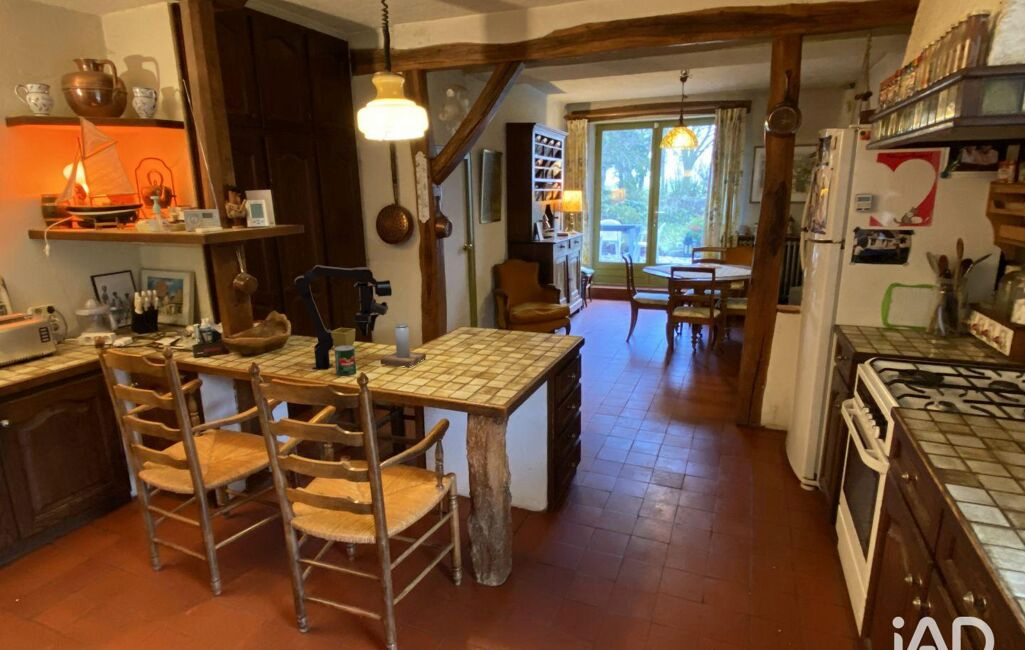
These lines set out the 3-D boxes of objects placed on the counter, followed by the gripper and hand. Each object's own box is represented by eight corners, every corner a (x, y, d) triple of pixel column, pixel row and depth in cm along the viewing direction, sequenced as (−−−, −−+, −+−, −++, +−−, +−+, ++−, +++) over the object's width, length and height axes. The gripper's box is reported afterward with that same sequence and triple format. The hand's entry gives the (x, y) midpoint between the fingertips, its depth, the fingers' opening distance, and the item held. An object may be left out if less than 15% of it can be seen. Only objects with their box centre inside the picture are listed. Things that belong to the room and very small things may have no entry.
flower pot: (346, 351, 264) (345, 333, 262) (330, 350, 266) (329, 331, 264) (357, 347, 272) (356, 328, 270) (341, 345, 275) (340, 327, 273)
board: (409, 368, 238) (409, 362, 238) (380, 364, 243) (380, 358, 243) (426, 359, 251) (425, 353, 251) (398, 356, 256) (398, 350, 256)
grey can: (404, 358, 243) (402, 327, 240) (393, 357, 246) (392, 325, 243) (412, 355, 248) (411, 324, 245) (402, 353, 250) (400, 323, 247)
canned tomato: (346, 378, 226) (344, 351, 224) (331, 375, 230) (329, 348, 227) (360, 372, 233) (358, 346, 230) (346, 369, 236) (344, 344, 234)
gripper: (378, 301, 230) (381, 339, 234) (391, 293, 249) (393, 328, 252) (351, 301, 231) (354, 338, 235) (366, 293, 249) (368, 328, 253)
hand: (369, 333), depth 243 cm, fingers open, 9 cm apart
